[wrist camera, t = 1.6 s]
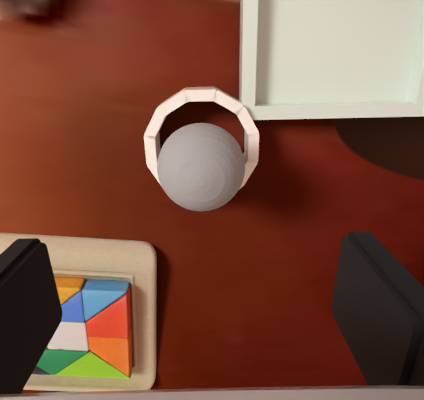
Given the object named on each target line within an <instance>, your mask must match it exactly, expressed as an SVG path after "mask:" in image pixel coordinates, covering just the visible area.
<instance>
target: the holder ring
mask: <svg viewBox="0 0 424 400" xmlns="http://www.w3.org/2000/svg"><path fill="white" fill-rule="evenodd" d="M197 101H214V102H216V103H218V104H220V105H221V106H223V107H225V108H227V109H228V110H230V111H232V112H234V113H235V114H236V115H237V116H238V118H239V120H240V122H241V123H242V125H243V127H244V129H245V142H244V153H243V157H244V162H245V174H244V179H243V182H242V185H241V187H240V188H239V189H241V188H242V186H244V185H245V183H246V181H247V180H248V178H249V177H250V175H251V173H252V172H253V170H254V169H255V167H256V165H257V164H258V163H257V162H258V155H259V131H258V130H257V128H256V126H255V124H254V122H253V120H252V119H251V117H250V115H249V113H248V111H247V109H246V108H245V106H244V105H243V104H242V103H241V102H240V101H239V100H238V99H236V98H234V97H232V96H231V95H229V94H227V93H226V92H224V91H222V90H220V89H219V88H217V87H216V88H215V87H186V88H184V89H182V90H181V91H179V92H178V93H176V94H175V95H173V96H172V97H170V98H169V99H167V100H165V101H164V102H162V103H161V104H160V105H159V106H158V107H157V109H156V111H155V113H154V115H153V117H152V119H151V121H150V123H149V125H148V127H147V130H146V132H145V134H144V143H145V153H146V164H147V166H148V168H149V169H150V171H151V172H152V173H153V175H154V176H155V178H156V179H157V181H158V182H159V183H160V181H159V178H158V173H157V162H158V157H159V154H160V151H161V147H160V134H159V131H160V129H161V127H162V125H163V122H164V120H165V118H166V116H167V114H169V113H171V112H172V111H174V110H175V109H177V108H178V107H180V106H182V105H183V104H185V103H186V102H197ZM160 185H161V184H160Z"/></svg>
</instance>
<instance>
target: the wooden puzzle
mask: <svg viewBox="0 0 424 400" xmlns="http://www.w3.org/2000/svg"><path fill="white" fill-rule="evenodd" d="M26 238H38V239H39V240H40V241H41V243H45V244H46V246H47V249H48V253H49V257H50V262H51V266H52V270H53V274H54V278H55V283H56V287H57V291H58V295H59V299H60V303H61V308H62V320H61V322H60V324H59V326H58V328H57V330H56V332H55V333H54V335H53V337H52V339H51V340H50V342H49V344H48V346H47V348H46V349H45V351H44V353H43V355H42V356H41V358H40V360H39V362H38V364H37V365H36V367H35V369H34V371H33V372H32V374H31V376H30V378H29V380H28V381H27V383H26V385H25V387H24V388H23V390H46V391H69V392H91V391H126V390H150V389H151V387H152V386H153V384H154V382H155V378H156V292H157V256H156V251H155V249H154V247H153V246H152V245H151V244H150V243H148V242H144V241H132V240H116V239H100V238H83V237H67V236H49V235H32V234H15V233H0V254H1V253H2V252H4V251H5V250H6V249H7V248H8V247H9V246H10V245H11V244H12V243H13V242H14V241H15V240H17V239H26Z"/></svg>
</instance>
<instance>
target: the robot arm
mask: <svg viewBox="0 0 424 400" xmlns="http://www.w3.org/2000/svg"><path fill="white" fill-rule="evenodd" d="M332 312H333V316H334V318H335V320H336V322H337V324H338V326H339V328H340V330H341V332H342V334H343V336H344V338H345V340H346V342H347V344H348V346H349V348H350V350H351V352H352V354H353V356H354V358H355V360H356V362H357V364H358V366H359V368H360V370H361V372H362V374H363V376H364V378H365V380H366V382H367V384H368V386H304V387H250V388H206V389H164V390H126V391H91V392H58V393H26V394H21V392H22V390H23V388H24V387H25V385H26V383H27V381H28V380H29V378H30V376H31V374H32V372H33V371H34V369H35V367H36V365H37V364H38V362H39V360H40V358H41V356H42V355H43V353H44V351H45V349H46V348H47V346H48V344H49V342H50V340H51V339H52V337H53V335H54V333H55V332H56V330H57V328H58V326H59V324H60V322H61V320H62V308H61V303H60V299H59V295H58V291H57V287H56V283H55V278H54V274H53V270H52V266H51V262H50V257H49V253H48V249H47V246H46V244H45V243H41V241H40V240H39V239H38V238H26V239H17V240H15V241H14V242H13V243H12V244H11V245H10V246H9V247H8V248H7V249H6V250H5V251H4V252H2V253H1V254H0V400H424V287H423V286H422V285H421V284H420V283H419V282H418V281H417V280H416V279H415V278H414V277H413V276H412V275H411V274H410V273H409V272H408V271H407V269H406V268H405V267H404V266H403V265H402V264H401V263H400V262H399V261H398V260H397V259H396V258H395V257H394V256H393V255H392V254H391V253H390V252H389V251H388V250H387V249H386V248H385V247H384V246H383V245H382V244H381V242H380V241H379V240H378V239H377V238H376V237H375V236H374V235H373V234H372V233H371V232H369V231H350V232H349V233H348V235H347V236H343V238H342V241H341V247H340V254H339V260H338V267H337V274H336V280H335V287H334V294H333V300H332Z"/></svg>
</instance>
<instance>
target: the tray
mask: <svg viewBox="0 0 424 400" xmlns="http://www.w3.org/2000/svg"><path fill="white" fill-rule="evenodd" d="M239 101H240V102H241V103H242V104H243V105H244V106H245V108H246V109H247V111H248V113H249V115H250V117H251V119H252V120H280V119H326V118H370V117H371V118H372V117H413V116H414V117H416V116H417V117H418V116H424V0H240V63H239Z"/></svg>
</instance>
